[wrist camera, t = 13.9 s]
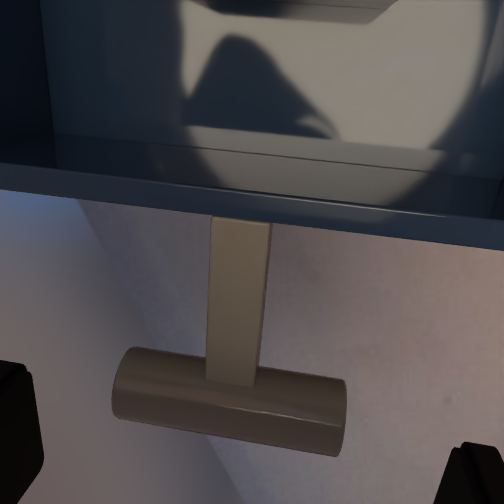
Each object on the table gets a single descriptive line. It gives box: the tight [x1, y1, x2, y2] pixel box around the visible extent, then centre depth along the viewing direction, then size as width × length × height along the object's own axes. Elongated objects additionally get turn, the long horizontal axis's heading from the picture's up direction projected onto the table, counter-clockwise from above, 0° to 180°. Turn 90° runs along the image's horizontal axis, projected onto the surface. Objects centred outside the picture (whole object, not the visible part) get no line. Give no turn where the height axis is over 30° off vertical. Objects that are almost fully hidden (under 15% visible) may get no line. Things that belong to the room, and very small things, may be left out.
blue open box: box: [0, 0, 504, 457], centre depth 9 cm, size 13×19×5 cm
